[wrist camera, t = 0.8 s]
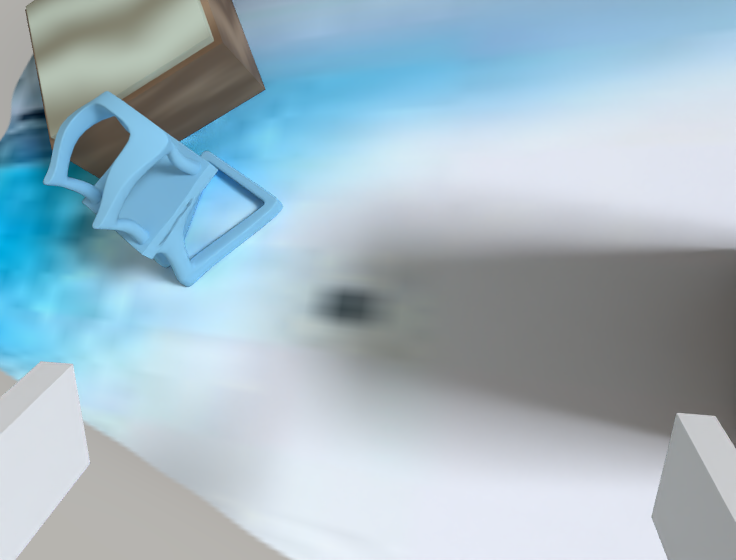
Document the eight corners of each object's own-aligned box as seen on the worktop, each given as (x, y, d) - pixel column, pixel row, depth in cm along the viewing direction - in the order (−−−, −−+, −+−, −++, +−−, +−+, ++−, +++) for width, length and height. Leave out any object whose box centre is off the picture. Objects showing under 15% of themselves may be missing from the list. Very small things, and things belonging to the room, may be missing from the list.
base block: (78, 52, 56) (19, 5, 51) (216, -39, 53) (169, -99, 48) (108, 183, 50) (45, 146, 45) (265, 89, 47) (218, 37, 42)
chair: (142, 248, 47) (-2, 175, 37) (213, 154, 47) (90, 54, 37) (210, 307, 44) (72, 245, 33) (285, 204, 44) (173, 111, 33)
